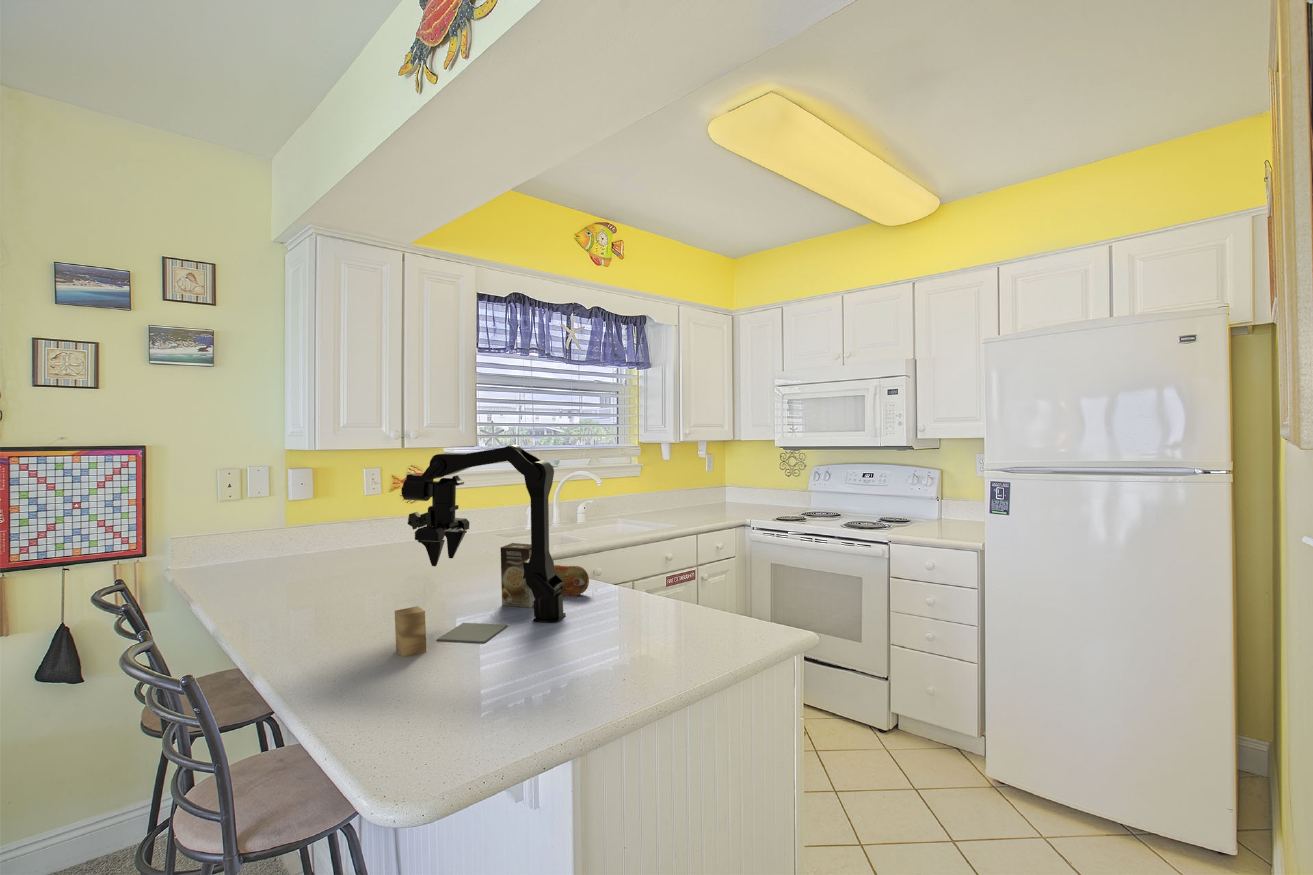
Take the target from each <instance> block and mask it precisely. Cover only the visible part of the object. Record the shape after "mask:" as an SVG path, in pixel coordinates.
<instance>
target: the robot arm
mask: <svg viewBox="0 0 1313 875" xmlns="http://www.w3.org/2000/svg"><path fill="white" fill-rule="evenodd" d="M505 462H508V463H509V464H511V465H512V466H513V467H514V469H516V470H517V471H518V473H520V474H521V475H522V476H523V478H524V484H525V488H526V490H527V492H528V495H529V497H530V544H531V557H530V558H529V559H528V560H526V561H525V562H523V568H524V576H523V579H524V578H525V581H526V585H527V586H528V587H529V588H530V589H531V590H532V593H533V595H534V598H535V600H534V601H533V606H532V607H533V617H534V618H533V619H532V621H533V622H537V621H546V622H545V623H558V622H559V621H560V620H562V619H563V618H564V617H565V616H566V615H567V614H566V612H564V600H563V599H564V598H563V596H564V595H563V593H560V591H561V590H562V589H563V586H564V581H563V580H562V579H561V578H559V577H558V576H557V575H556V574H555V569H554V565H555V564H554V560H553V558H552V556H551V554H550V530H549V529H550V528H549V527H550V524H549V522H550V519H549V518H550V516H549V515H550V514H549V498H550V492H551V490H552V486H553V481H554V476H555V469H554V467H553V465H552V464H551V463H550V462H548V461H546V460H541V459H539V458H538V457H537V456H535V455H533V454H531V453H530V452H528V451H526V450H525V449H523V448H522V447H521V446H519V445H517V444H513V445H512V444H510V445H507V446H504V447H498V448H492V449H486V450H481V451H474V452H470V453H469V452H467V453H465V452H445V453H444V452H443V453H438V454H435V455H433V456H431V458H430V461H429V466H428V467H427V468H426V469H425V470H424V472H423V473H422V474H418V473H417V474H416V473H408V474H406V475H405V476H406V478H405V480H404V481H403V484H402V487H401V496H402V498H403V499H404V500H405V501H416V502H417V501H419V502H428V501H429V500H430V499H431V498H432V499H431V500H432V501H431V502H432V505H430V506H428V507H427V512H425V513H419V512H418V511H416V512H411V513H409V514H408V518H407V525H408V526H410V527H411V528H412V529H411V530H413V531H414V530H415V531H414V540H415V541H417V542H418V543H419V544H422V545H423V547H425V550H426V553H427V554H428V558H429V561H430V564H431V567H437V565H438V564H439V560H440V557H441V554H442V551H443V547H444V544H445V542H446V546H447V557H448V559H453V558H455V555H456V553H457V551H458V549H459V546H460V545H461V542H462V541H463V538H464V537H465V535H466V534H467V532H468V530H470V521H469V519H467V518H465V517H464V518H462V517H456V511H457V510H459V508H460V507H459V506H460V505H459V504H456V503H457V502H456V500H457V499H456V498H457V496H456V495H457V494H456V493H457V486H461V485H464V484H465V481H464V480H462V479H461V478H460V477H459V475H457V473H460V472H463V471H466V470H468V469H469V468H474V467H481V466H485V465H486V466H487V465H492V464H497V463H505ZM455 474H456V475H455ZM451 475H453V476H452V477H451V478H450V477H447V476H451ZM445 476H446V477H445ZM435 479H438V481H437V480H435ZM444 538H446V539H444ZM562 617H563V618H562Z"/></svg>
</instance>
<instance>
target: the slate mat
mask: <svg viewBox="0 0 1313 875" xmlns="http://www.w3.org/2000/svg"><path fill="white" fill-rule="evenodd" d="M507 626H508V627H509V624H503V623H501V624H500V623H483V622H481V623H479V622H462V623H461V624H459V625H457V626H455V627H454V628H452V629H450V630H449V631H447V632H446V633H444V634H443V635H441V636H439V637H438V638H436V641H437V642H454V643H455V642H456V643H457V642H458V643H475V644H476V643H477V644H478V643H479V644H486V643H487V642H488V641H489V640H492V637H493V636H494V637H495V636H496V634H497V635H498V634H500V633H501V632H502V631H503V629H504V628H505V629H507ZM505 629H504V630H505ZM500 631H501V632H500ZM494 637H493V638H494Z"/></svg>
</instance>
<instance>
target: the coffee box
mask: <svg viewBox="0 0 1313 875" xmlns="http://www.w3.org/2000/svg"><path fill="white" fill-rule="evenodd" d="M530 557H531V543H518V542H517V543H516V542H511V543H509V544H506V545H504V546H501V547H500V573H501V574H500V576H501V577H500V578H501V579H500V580H501V582H500V583H501V606H508V607H518V606H519V608H532V607H534V606H533V601H534V600H535V598H534V595H533V593H532V590H531V589H530V588H529V587H528V586H527V585H526V581H525V578H524V579H523V576H524V568H523V562H525V561H526V560H528V559H529V558H530ZM531 606H532V607H531Z"/></svg>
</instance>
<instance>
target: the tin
mask: <svg viewBox="0 0 1313 875" xmlns="http://www.w3.org/2000/svg"><path fill="white" fill-rule="evenodd" d="M554 569H555V574H556V575H557V576H558V577H559V578H561V579H562V580H563V581H564V586H563V589H562V590H561V591H560V593H563V596H566V595H573V596H572V597H576V596H580V595H581V594H583V593H584V592H586V590H587V589H588V588H589V582H590V578H589V573H588V572H587V570H586V569H584V568H583V567H581V566H579V565H563V564H554Z"/></svg>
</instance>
